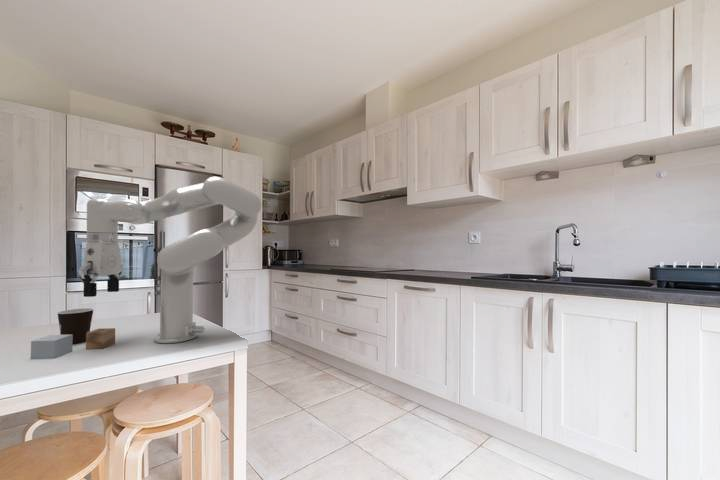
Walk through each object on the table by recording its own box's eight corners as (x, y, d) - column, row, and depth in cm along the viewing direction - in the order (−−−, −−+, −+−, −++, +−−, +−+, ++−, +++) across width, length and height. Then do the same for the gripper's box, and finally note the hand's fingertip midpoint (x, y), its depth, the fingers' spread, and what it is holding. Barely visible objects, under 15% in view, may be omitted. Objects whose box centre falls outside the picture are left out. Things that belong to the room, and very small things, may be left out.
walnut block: (115, 344, 99) (115, 328, 99) (103, 349, 94) (104, 332, 94) (98, 344, 99) (98, 328, 99) (85, 349, 94) (86, 332, 94)
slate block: (72, 351, 92) (72, 334, 92) (54, 358, 86) (54, 340, 86) (50, 352, 91) (50, 335, 92) (30, 359, 85) (31, 341, 86)
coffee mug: (85, 344, 98) (86, 312, 98) (50, 347, 95) (51, 314, 95) (100, 334, 109) (101, 305, 109) (69, 337, 106) (70, 307, 106)
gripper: (94, 238, 89) (93, 298, 88) (132, 239, 106) (132, 289, 106) (65, 238, 88) (65, 299, 88) (109, 239, 105) (109, 290, 105)
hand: (102, 293), depth 97 cm, fingers open, 9 cm apart
